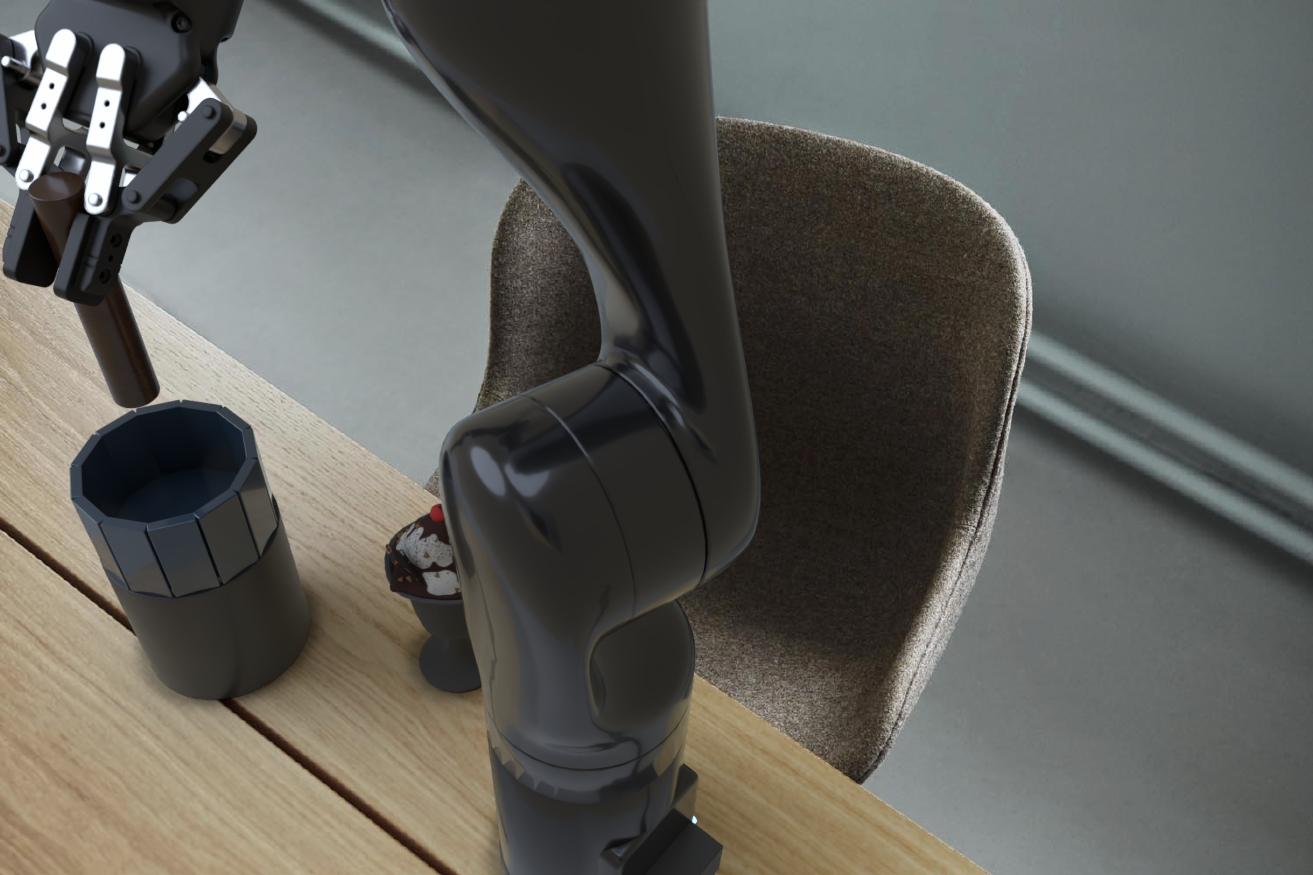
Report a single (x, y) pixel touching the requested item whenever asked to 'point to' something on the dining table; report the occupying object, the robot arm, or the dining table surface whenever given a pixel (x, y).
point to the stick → (111, 319)
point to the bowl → (174, 497)
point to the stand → (225, 627)
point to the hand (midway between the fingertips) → (52, 290)
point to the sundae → (434, 600)
